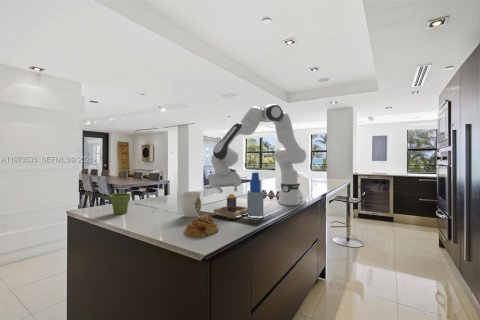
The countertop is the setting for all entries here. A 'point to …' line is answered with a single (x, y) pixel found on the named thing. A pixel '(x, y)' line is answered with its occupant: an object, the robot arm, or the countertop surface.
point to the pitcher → (191, 204)
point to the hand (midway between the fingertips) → (228, 191)
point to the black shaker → (231, 204)
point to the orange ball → (231, 196)
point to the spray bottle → (255, 196)
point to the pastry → (201, 226)
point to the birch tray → (224, 212)
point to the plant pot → (120, 202)
